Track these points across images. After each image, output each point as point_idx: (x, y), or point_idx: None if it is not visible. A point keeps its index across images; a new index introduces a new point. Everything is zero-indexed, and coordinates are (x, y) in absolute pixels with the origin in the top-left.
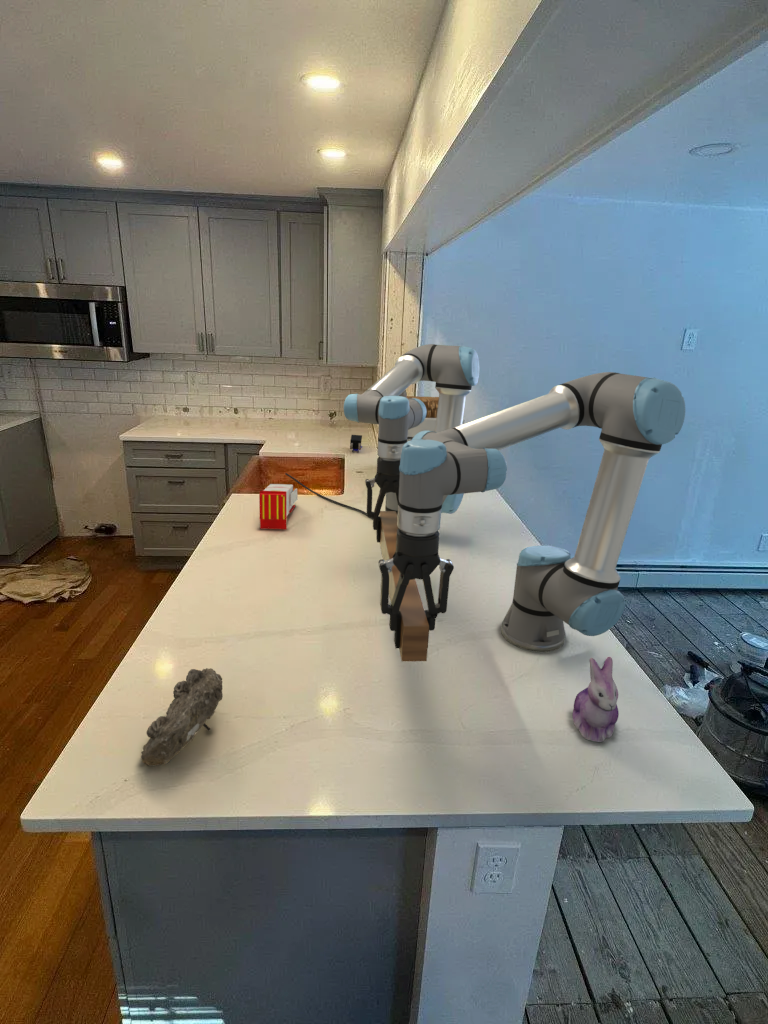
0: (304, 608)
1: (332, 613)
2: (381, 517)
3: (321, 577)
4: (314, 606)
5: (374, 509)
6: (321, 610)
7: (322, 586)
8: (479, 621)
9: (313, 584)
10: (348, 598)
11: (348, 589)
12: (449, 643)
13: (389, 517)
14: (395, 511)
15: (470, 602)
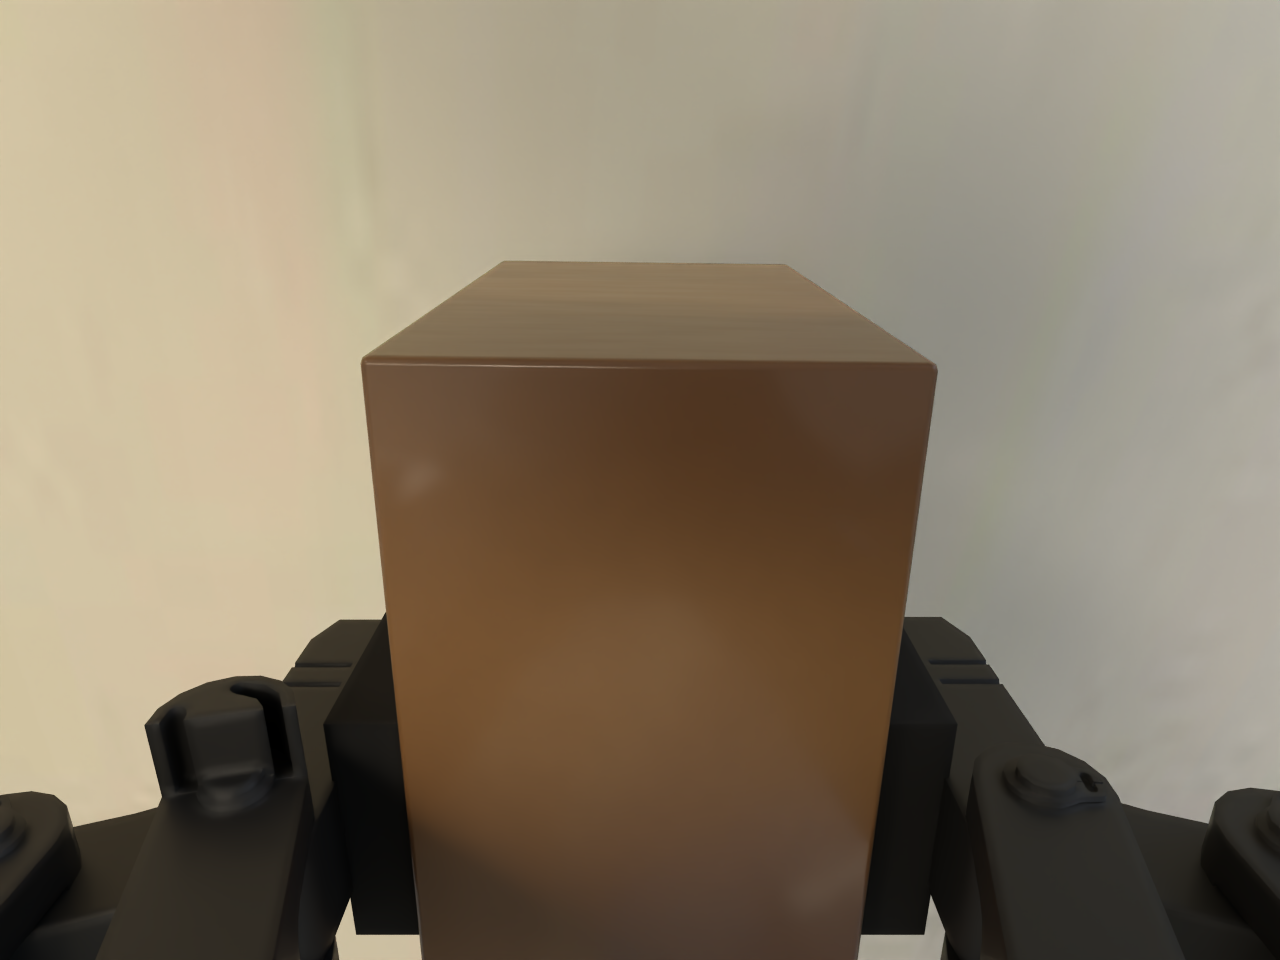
0: (56, 612)
1: (259, 672)
2: (434, 874)
3: (53, 94)
4: (118, 588)
5: (115, 918)
6: (178, 637)
7: (105, 282)
8: (1190, 769)
9: (18, 243)
10: (346, 483)
11: (333, 338)
12: (923, 948)
13: (651, 876)
14: (925, 407)
15: (1251, 550)
